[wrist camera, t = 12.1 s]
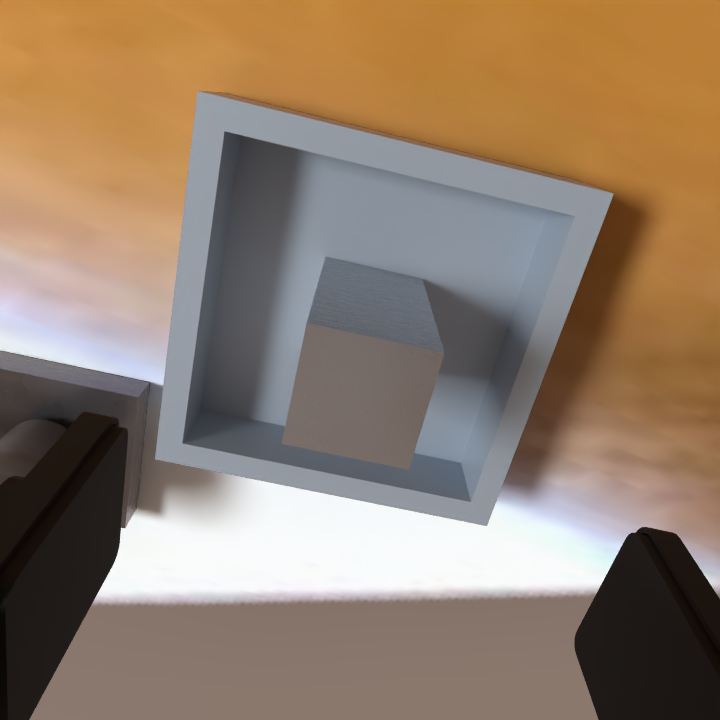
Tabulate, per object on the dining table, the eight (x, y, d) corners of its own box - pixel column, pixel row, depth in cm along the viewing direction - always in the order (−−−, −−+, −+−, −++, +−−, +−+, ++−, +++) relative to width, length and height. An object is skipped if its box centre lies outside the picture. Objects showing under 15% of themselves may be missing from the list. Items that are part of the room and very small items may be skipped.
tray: (580, 181, 24) (614, 193, 20) (473, 479, 29) (486, 525, 26) (222, 92, 23) (197, 90, 19) (179, 418, 28) (154, 459, 25)
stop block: (422, 278, 25) (444, 353, 17) (397, 366, 26) (408, 470, 19) (325, 256, 24) (306, 322, 17) (306, 347, 26) (281, 443, 19)
